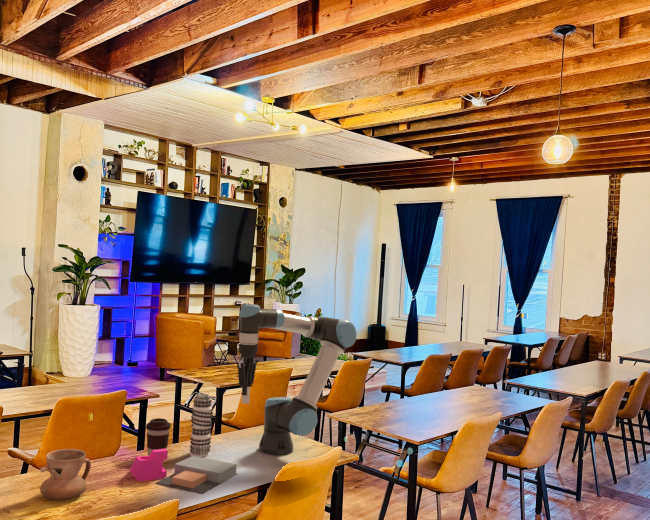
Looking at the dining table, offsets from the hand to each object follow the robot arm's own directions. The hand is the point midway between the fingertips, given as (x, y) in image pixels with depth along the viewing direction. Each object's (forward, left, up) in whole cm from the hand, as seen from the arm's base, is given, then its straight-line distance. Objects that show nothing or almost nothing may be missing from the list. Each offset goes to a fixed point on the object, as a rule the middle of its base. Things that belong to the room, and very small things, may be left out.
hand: (245, 402), depth 240 cm
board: (+12, -9, -26) cm, 30 cm away
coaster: (+23, -9, -26) cm, 36 cm away
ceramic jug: (+53, -38, -27) cm, 70 cm away
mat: (+21, -9, -26) cm, 35 cm away
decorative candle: (-8, -25, -27) cm, 37 cm away
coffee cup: (+4, -38, -27) cm, 47 cm away
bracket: (+23, -28, -27) cm, 45 cm away
